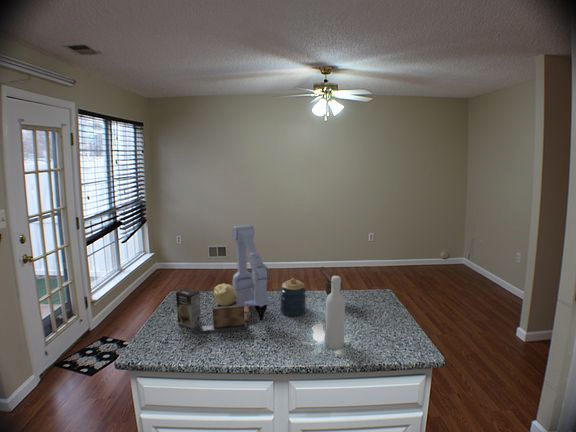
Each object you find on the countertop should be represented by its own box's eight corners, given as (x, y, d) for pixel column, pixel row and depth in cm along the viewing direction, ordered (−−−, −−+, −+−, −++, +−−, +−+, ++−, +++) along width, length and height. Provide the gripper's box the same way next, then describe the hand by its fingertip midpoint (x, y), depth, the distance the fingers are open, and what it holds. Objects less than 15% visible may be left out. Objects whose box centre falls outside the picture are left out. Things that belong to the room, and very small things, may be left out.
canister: (306, 305, 177) (306, 274, 174) (305, 317, 164) (305, 283, 161) (282, 304, 178) (281, 273, 175) (278, 316, 166) (278, 282, 162)
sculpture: (211, 301, 182) (210, 282, 180) (232, 297, 188) (232, 278, 186) (217, 310, 172) (216, 290, 170) (239, 305, 178) (239, 286, 176)
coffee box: (177, 324, 159) (175, 292, 156) (187, 318, 164) (185, 287, 161) (191, 328, 154) (189, 296, 151) (201, 322, 160) (199, 290, 157)
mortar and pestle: (320, 307, 175) (320, 271, 171) (318, 300, 184) (319, 265, 180) (342, 307, 175) (343, 270, 171) (339, 300, 184) (340, 265, 180)
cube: (248, 315, 167) (248, 306, 166) (249, 321, 162) (248, 311, 161) (238, 316, 166) (238, 307, 165) (238, 322, 161) (238, 312, 160)
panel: (244, 323, 157) (243, 304, 155) (244, 324, 155) (244, 306, 153) (213, 325, 154) (212, 307, 152) (213, 327, 153) (212, 309, 151)
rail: (246, 324, 158) (246, 322, 158) (247, 328, 154) (246, 326, 154) (193, 329, 154) (193, 327, 154) (192, 334, 150) (192, 331, 150)
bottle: (331, 337, 147) (333, 272, 142) (347, 343, 142) (349, 276, 137) (321, 345, 141) (322, 277, 136) (337, 352, 136) (339, 282, 131)
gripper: (245, 297, 149) (245, 325, 152) (277, 294, 152) (277, 322, 154) (244, 290, 156) (244, 317, 159) (275, 288, 158) (275, 315, 161)
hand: (260, 319), depth 157 cm, fingers closed
